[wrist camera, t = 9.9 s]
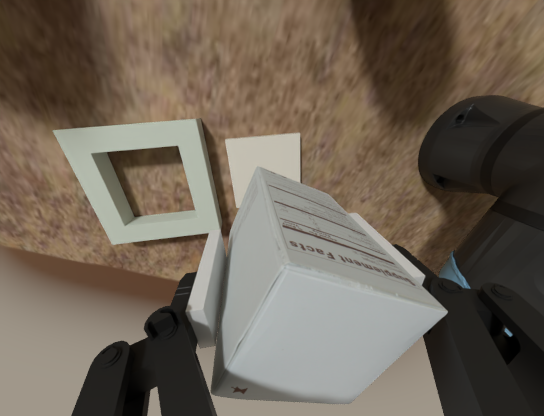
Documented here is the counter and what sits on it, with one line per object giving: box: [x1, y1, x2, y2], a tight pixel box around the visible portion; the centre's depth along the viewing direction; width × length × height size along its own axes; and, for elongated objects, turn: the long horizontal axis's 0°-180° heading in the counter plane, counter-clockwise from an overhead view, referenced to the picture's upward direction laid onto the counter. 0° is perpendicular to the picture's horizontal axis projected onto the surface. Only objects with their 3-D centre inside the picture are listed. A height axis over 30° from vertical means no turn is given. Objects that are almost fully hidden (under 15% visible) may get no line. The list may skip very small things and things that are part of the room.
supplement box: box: [211, 166, 448, 404], centre depth 13 cm, size 7×7×13 cm
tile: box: [225, 133, 300, 208], centre depth 32 cm, size 11×11×1 cm
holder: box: [52, 118, 222, 245], centre depth 30 cm, size 17×17×3 cm
